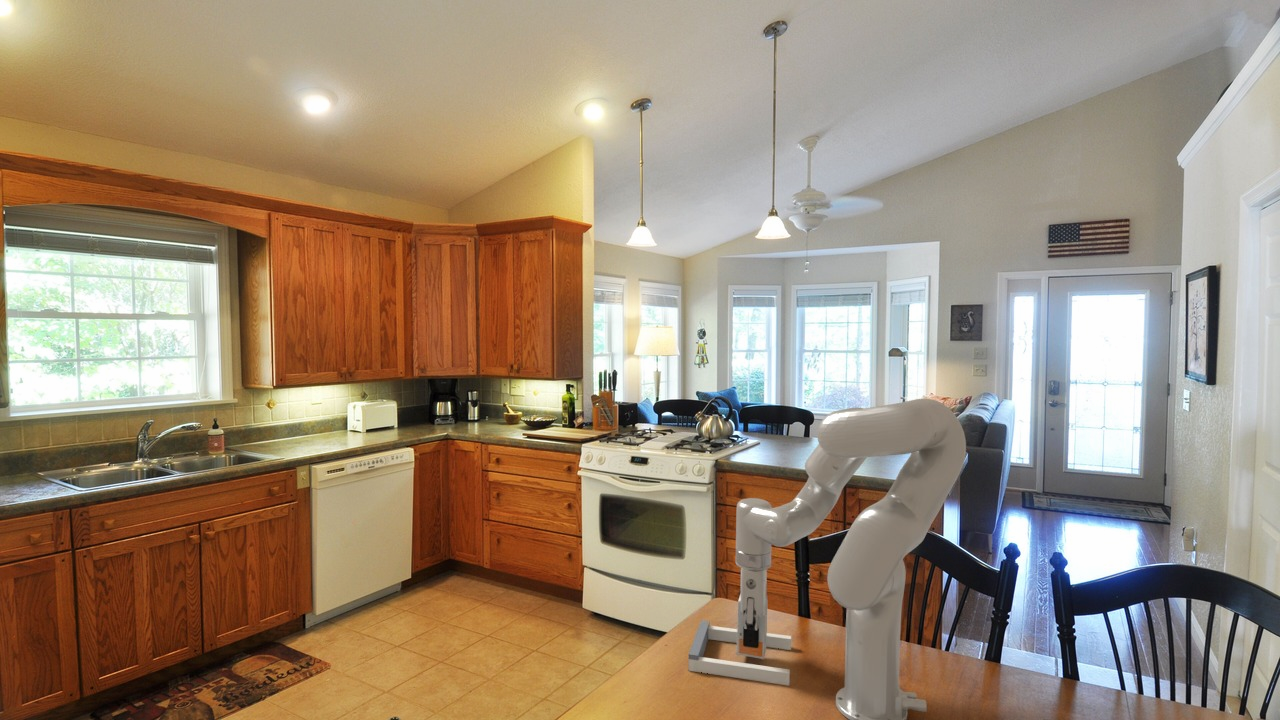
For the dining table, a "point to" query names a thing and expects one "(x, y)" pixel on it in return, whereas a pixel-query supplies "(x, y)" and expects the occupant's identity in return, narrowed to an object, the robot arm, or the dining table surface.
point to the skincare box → (762, 628)
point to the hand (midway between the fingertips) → (751, 640)
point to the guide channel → (730, 667)
